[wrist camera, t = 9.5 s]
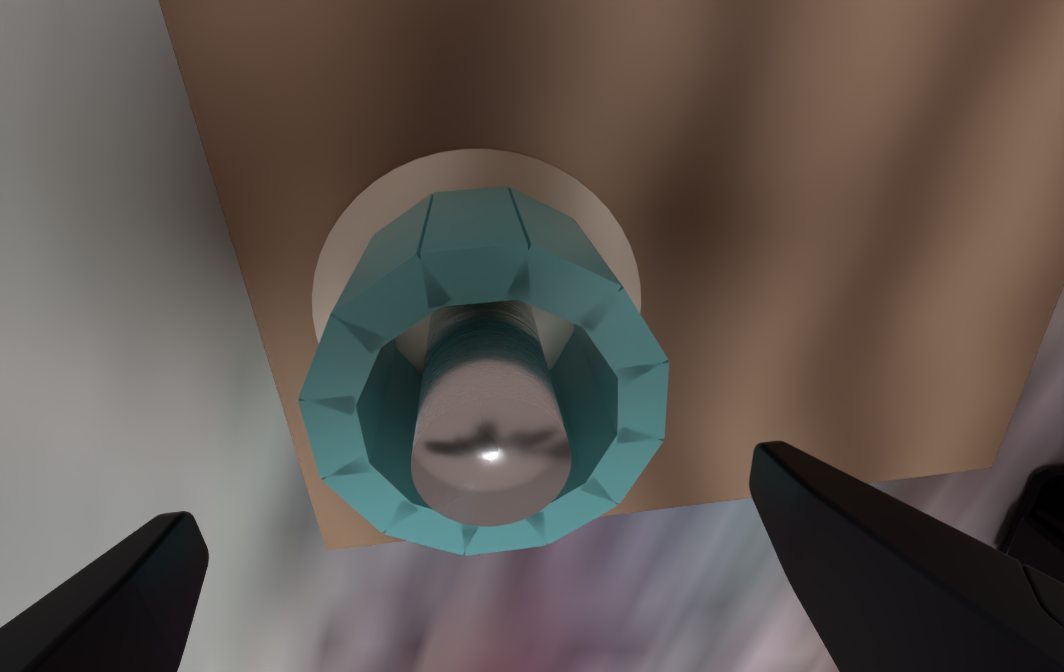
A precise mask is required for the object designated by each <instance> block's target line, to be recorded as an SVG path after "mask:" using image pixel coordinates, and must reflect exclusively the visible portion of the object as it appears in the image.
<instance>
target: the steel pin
mask: <svg viewBox="0 0 1064 672" xmlns="http://www.w3.org/2000/svg"><path fill="white" fill-rule="evenodd" d="M571 458H572V457H571V449H570V445H569V441H568V438H567V434H566V431H565V427H564V423H563V420H562V416H561V413H560V409H559V405H558V402H557V398H556V395H555V391H554V387H553V384H552V380H551V377H550V373H549V369H548V366H547V362H546V359H545V355H544V352H543V348H542V344H541V341H540V337H539V334H538V330H537V326H536V323H535V319H534V316H533V312H532V308H531V305H529V304H527V303H525V302H522V301H520V300H508V301H497V302H487V303H476V304H465V305H454V306H444V307H440V308H439V309H437V310H436V311H434V312H433V313H431V317H430V325H429V332H428V339H427V347H426V354H425V361H424V369H423V376H422V384H421V391H420V398H419V406H418V413H417V420H416V428H415V435H414V443H413V450H412V457H411V474H412V478H413V482H414V485H415V487H416V489H417V491H418V493H419V494H420V496H421V497H422V499H423V500H424V501H425V502H426V503H427V504H428V505H429V506H430V507H431V508H432V509H433V510H435V511H436V512H438V513H439V514H441V515H442V516H444V517H446V518H448V519H450V520H453V521H456V522H459V523H462V524H467V525H472V526H484V527H491V526H501V525H507V524H511V523H515V522H518V521H521V520H524V519H526V518H528V517H530V516H532V515H534V514H536V513H538V512H539V511H541V510H542V509H544V508H545V507H546V506H547V505H549V504H550V503H551V502H552V501H553V500H554V499H555V498H556V497H557V496H558V494H559V493H560V492H561V490H562V489H563V487H564V485H565V483H566V481H567V479H568V476H569V473H570V468H571Z"/></svg>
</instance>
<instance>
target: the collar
mask: <svg viewBox="0 0 1064 672" xmlns="http://www.w3.org/2000/svg"><path fill="white" fill-rule="evenodd" d="M508 300H520V301H522V302H525V303H527V304H529V305H532V306H534V307H536V308H539V309H541V310H543V311H546V312H548V313H551V314H553V315H555V316H558V317H560V318H562V319H565V320H567V321H569V322H572V323H574V331H573V333H572V335H571V337H570V338H569V340H568V342H567V344H566V345H565V347H564V349H563V351H562V352H561V354H560V356H559V358H558V359H557V361H556V363H555V365H554V366H553V368H552V369H550V370H549V373H550V377H551V380H552V384H553V387H554V391H555V395H556V398H557V402H558V405H559V409H560V413H561V416H562V420H563V423H564V427H565V431H566V434H567V438H568V441H569V445H570V449H571V457H572V458H571V468H570V473H569V476H568V479H567V481H566V483H565V485H564V487H563V489H562V490H561V492H560V493H559V494H558V496H557V497H556V498H555V499H554V500H553V501H552V502H551V503H550V504H549V505H547V506H546V507H545V508H544V509H542V510H541V511H539V512H538V513H536V514H534V515H532V516H530V517H528V518H526V519H524V520H521V521H518V522H515V523H511V524H507V525H501V526H491V527H484V526H472V525H467V524H462V523H459V522H456V521H453V520H450V519H448V518H446V517H444V516H442V515H441V514H439V513H438V512H436V511H435V510H433V509H432V508H431V507H430V506H429V505H428V504H427V503H426V502H425V501H424V500H423V499H422V497H421V496H420V494H419V493H418V491H417V489H416V487H415V485H414V482H413V478H412V474H411V457H412V450H413V443H414V435H415V428H416V420H417V413H418V406H419V398H420V391H421V384H422V375H421V374H420V373H419V372H418V371H417V370H416V369H415V368H414V367H413V366H412V364H411V363H410V362H409V361H408V360H407V359H406V358H405V357H404V356H403V354H402V353H401V352H400V351H399V350H398V349H397V347H396V341H395V338H396V337H397V336H399V335H400V334H402V333H403V332H405V331H406V330H408V329H409V328H411V327H412V326H414V325H415V324H417V323H418V322H420V321H421V320H423V319H424V318H426V317H427V316H428V315H430V314H431V313H433V312H434V311H436V310H437V309H439V308H440V307H444V306H454V305H465V304H476V303H487V302H497V301H508ZM668 374H669V362H668V358H667V356H666V355H665V353H664V351H663V350H662V348H661V347H660V345H659V343H658V342H657V340H656V339H655V337H654V335H653V334H652V332H651V331H650V329H649V327H648V326H647V324H646V323H645V321H644V319H643V318H642V316H641V314H640V313H639V311H638V310H637V308H636V306H635V305H634V303H633V302H632V300H631V298H630V297H629V295H628V294H627V292H626V290H625V289H624V287H623V286H622V285H621V283H620V282H619V280H618V279H617V278H616V276H615V275H614V273H613V272H612V271H611V269H610V268H609V267H608V265H607V264H606V262H605V261H604V260H603V258H602V257H601V255H600V254H599V253H598V251H597V250H596V249H595V247H594V246H593V244H592V243H591V242H590V240H589V239H588V238H587V236H586V235H585V233H584V232H583V231H582V229H581V228H580V226H579V225H578V224H577V222H576V221H575V220H574V219H573V218H572V217H570V216H568V215H566V214H564V213H562V212H560V211H558V210H556V209H554V208H552V207H550V206H548V205H546V204H544V203H542V202H540V201H538V200H535V199H533V198H531V197H529V196H527V195H525V194H523V193H521V192H519V191H517V190H515V189H513V188H511V187H510V188H509V190H508V188H507V186H506V187H493V188H481V189H468V190H455V191H442V192H434V195H433V194H432V193H431V194H430V195H428V196H427V197H426V198H424V199H423V200H421V201H420V202H419V203H417V204H416V205H414V206H413V207H412V208H410V209H409V210H407V211H406V212H405V213H403V214H402V215H400V216H399V217H398V218H396V219H395V220H393V221H392V222H391V223H389V224H388V225H386V226H385V227H384V228H382V229H381V230H379V231H378V232H377V233H375V234H374V236H373V237H372V238H371V240H370V242H369V244H368V246H367V248H366V250H365V251H364V253H363V255H362V257H361V259H360V261H359V262H358V264H357V266H356V268H355V270H354V272H353V273H352V275H351V277H350V279H349V281H348V283H347V285H346V286H345V288H344V290H343V292H342V294H341V296H340V297H339V299H338V301H337V303H336V305H335V307H334V309H333V310H332V312H331V314H330V316H329V319H328V321H327V324H326V326H325V329H324V332H323V334H322V337H321V339H320V342H319V345H318V347H317V350H316V352H315V355H314V358H313V360H312V363H311V365H310V368H309V371H308V373H307V376H306V378H305V381H304V384H303V386H302V389H301V391H300V394H299V397H298V398H299V400H298V403H299V407H300V410H301V414H302V417H303V421H304V424H305V428H306V431H307V435H308V438H309V442H310V445H311V449H312V452H313V455H314V459H315V462H316V466H317V469H318V473H319V476H320V478H322V481H323V482H324V483H325V484H326V485H327V486H329V487H330V488H331V489H332V490H333V491H334V492H335V493H336V494H338V495H339V496H340V497H341V498H342V499H343V500H344V501H346V502H347V503H348V504H349V505H350V506H351V507H352V508H354V509H355V510H356V511H357V512H358V513H359V514H360V515H362V516H363V517H364V518H365V519H366V520H367V521H368V522H370V523H371V524H372V525H373V526H374V527H375V528H376V529H378V530H379V531H380V532H381V533H382V532H384V531H385V533H384V534H385V535H389V536H392V537H396V538H400V539H403V540H407V541H411V542H414V543H418V544H422V545H425V546H429V547H433V548H437V549H440V550H444V551H448V552H451V553H455V554H459V555H463V554H464V552H465V555H466V556H467V555H475V554H483V553H491V552H499V551H507V550H514V549H522V548H530V547H538V546H546V542H547V543H548V544H551V543H552V542H554V541H556V540H558V539H560V538H561V537H563V536H565V535H567V534H568V533H570V532H572V531H574V530H575V529H577V528H579V527H581V526H583V525H584V524H586V523H588V522H590V521H591V520H593V519H595V518H597V517H598V516H600V515H602V514H604V513H606V512H607V511H609V510H611V509H613V508H614V507H616V506H617V503H621V501H622V500H623V498H624V497H625V496H626V494H627V493H628V491H629V490H630V488H631V487H632V486H633V484H634V483H635V481H636V480H637V478H638V477H639V476H640V474H641V473H642V471H643V470H644V468H645V467H646V466H647V464H648V463H649V461H650V460H651V458H652V457H653V456H654V454H655V453H656V451H657V450H658V448H659V447H660V446H661V444H662V443H663V440H662V439H664V438H665V423H666V407H667V391H668Z"/></svg>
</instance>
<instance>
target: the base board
mask: <svg viewBox="0 0 1064 672" xmlns="http://www.w3.org/2000/svg"><path fill="white" fill-rule="evenodd" d="M159 3H160V6H161V9H162V13H163V16H164V19H165V22H166V26H167V29H168V32H169V36H170V39H171V42H172V45H173V49H174V52H175V55H176V59H177V62H178V65H179V68H180V72H181V75H182V78H183V82H184V85H185V88H186V91H187V95H188V98H189V101H190V105H191V108H192V111H193V114H194V118H195V121H196V124H197V128H198V131H199V134H200V137H201V141H202V144H203V147H204V151H205V154H206V157H207V160H208V164H209V167H210V170H211V174H212V177H213V180H214V183H215V187H216V190H217V193H218V196H219V200H220V203H221V206H222V210H223V213H224V216H225V219H226V223H227V226H228V229H229V233H230V236H231V239H232V242H233V246H234V249H235V252H236V256H237V259H238V262H239V265H240V269H241V272H242V275H243V279H244V282H245V285H246V288H247V292H248V295H249V298H250V302H251V305H252V308H253V311H254V315H255V318H256V321H257V325H258V328H259V331H260V334H261V338H262V341H263V344H264V348H265V351H266V354H267V357H268V361H269V364H270V367H271V371H272V374H273V377H274V380H275V384H276V387H277V390H278V394H279V397H280V400H281V403H282V407H283V410H284V413H285V417H286V420H287V423H288V426H289V430H290V433H291V436H292V440H293V443H294V446H295V449H296V453H297V456H298V459H299V463H300V466H301V469H302V472H303V476H304V479H305V482H306V486H307V489H308V492H309V495H310V499H311V502H312V505H313V508H314V512H315V515H316V518H317V522H318V525H319V528H320V531H321V535H322V538H323V541H324V545H325V548H326V551H327V550H335V549H343V548H351V547H359V546H367V545H376V544H384V543H392V542H400V541H407V540H403V539H400V538H396V537H392V536H389V535H385V534H384V533H385V531H384V532H382V533H381V532H380V531H379V530H378V529H376V528H375V527H374V526H373V525H372V524H371V523H370V522H368V521H367V520H366V519H365V518H364V517H363V516H362V515H360V514H359V513H358V512H357V511H356V510H355V509H354V508H352V507H351V506H350V505H349V504H348V503H347V502H346V501H344V500H343V499H342V498H341V497H340V496H339V495H338V494H336V493H335V492H334V491H333V490H332V489H331V488H330V487H329V486H327V485H326V484H325V483H324V482H323V481H322V478H320V476H319V473H318V469H317V466H316V462H315V459H314V455H313V452H312V449H311V445H310V442H309V438H308V435H307V431H306V428H305V424H304V421H303V417H302V414H301V410H300V407H299V403H298V400H299V398H298V397H299V394H300V391H301V389H302V386H303V384H304V381H305V378H306V376H307V373H308V371H309V368H310V365H311V363H312V360H313V358H314V355H315V352H316V350H317V347H318V345H319V342H320V339H321V337H322V334H323V332H324V329H325V326H326V324H327V321H328V319H329V316H330V314H331V312H332V310H333V309H334V307H335V305H336V303H337V301H338V299H339V297H340V296H341V294H342V292H343V290H344V288H345V286H346V285H347V283H348V281H349V279H350V277H351V275H352V273H353V272H354V270H355V268H356V266H357V264H358V262H359V261H360V259H361V257H362V255H363V253H364V251H365V250H366V248H367V246H368V244H369V242H370V240H371V238H372V237H373V236H374V234H375V233H377V232H378V231H379V230H381V229H382V228H384V227H385V226H386V225H388V224H389V223H391V222H392V221H393V220H395V219H396V218H398V217H399V216H400V215H402V214H403V213H405V212H406V211H407V210H409V209H410V208H412V207H413V206H414V205H416V204H417V203H419V202H420V201H421V200H423V199H424V198H426V197H427V196H428V195H430V194H431V193H432V194H433V195H434V192H442V191H455V190H468V189H481V188H493V187H506V186H507V188H508V190H509V188H510V187H511V188H513V189H515V190H517V191H519V192H521V193H523V194H525V195H527V196H529V197H531V198H533V199H535V200H538V201H540V202H542V203H544V204H546V205H548V206H550V207H552V208H554V209H556V210H558V211H560V212H562V213H564V214H566V215H568V216H570V217H572V218H573V219H574V220H575V221H576V222H577V224H578V225H579V226H580V228H581V229H582V231H583V232H584V233H585V235H586V236H587V238H588V239H589V240H590V242H591V243H592V244H593V246H594V247H595V249H596V250H597V251H598V253H599V254H600V255H601V257H602V258H603V260H604V261H605V262H606V264H607V265H608V267H609V268H610V269H611V271H612V272H613V273H614V275H615V276H616V278H617V279H618V280H619V282H620V283H621V285H622V286H623V287H624V289H625V290H626V292H627V294H628V295H629V297H630V298H631V300H632V302H633V303H634V305H635V306H636V308H637V310H638V311H639V313H640V314H641V316H642V318H643V319H644V321H645V323H646V324H647V326H648V327H649V329H650V331H651V332H652V334H653V335H654V337H655V339H656V340H657V342H658V343H659V345H660V347H661V348H662V350H663V351H664V353H665V355H666V356H667V358H668V362H669V374H668V391H667V407H666V423H665V438H664V439H662V440H663V443H662V444H661V446H660V447H659V448H658V450H657V451H656V453H655V454H654V456H653V457H652V458H651V460H650V461H649V463H648V464H647V466H646V467H645V468H644V470H643V471H642V473H641V474H640V476H639V477H638V478H637V480H636V481H635V483H634V484H633V486H632V487H631V488H630V490H629V491H628V493H627V494H626V496H625V497H624V498H623V500H622V501H621V503H617V506H616V507H614V508H613V509H611V510H609V511H607V512H606V513H604V514H602V515H600V516H608V515H616V514H625V513H633V512H641V511H649V510H657V509H665V508H673V507H681V506H689V505H697V504H705V503H713V502H721V501H729V500H737V499H745V498H752V496H751V493H750V489H749V477H750V471H751V464H752V457H753V451H754V448H755V446H756V445H757V444H758V443H760V442H768V441H777V440H780V441H784V442H786V443H788V444H790V445H792V446H794V447H796V448H798V449H800V450H802V451H804V452H806V453H808V454H810V455H812V456H814V457H816V458H818V459H819V460H821V461H823V462H825V463H827V464H829V465H831V466H833V467H835V468H837V469H839V470H841V471H843V472H845V473H847V474H849V475H851V476H853V477H855V478H857V479H859V480H861V481H863V482H865V483H874V482H882V481H890V480H898V479H906V478H914V477H922V476H930V475H938V474H946V473H954V472H962V471H970V470H978V469H986V468H992V466H993V464H994V461H995V458H996V456H997V453H998V451H999V448H1000V446H1001V443H1002V441H1003V438H1004V436H1005V433H1006V431H1007V428H1008V425H1009V423H1010V420H1011V418H1012V415H1013V413H1014V410H1015V408H1016V405H1017V403H1018V400H1019V398H1020V395H1021V393H1022V390H1023V387H1024V385H1025V382H1026V380H1027V377H1028V375H1029V372H1030V370H1031V367H1032V365H1033V362H1034V360H1035V357H1036V354H1037V352H1038V349H1039V347H1040V344H1041V342H1042V339H1043V337H1044V334H1045V332H1046V329H1047V327H1048V324H1049V321H1050V319H1051V316H1052V314H1053V311H1054V309H1055V306H1056V304H1057V301H1058V299H1059V296H1060V294H1061V291H1062V288H1063V286H1064V0H159ZM531 308H532V312H533V316H534V319H535V323H536V326H537V330H538V334H539V337H540V341H541V344H542V348H543V352H544V355H545V359H546V362H547V366H548V369H549V370H550V369H552V368H553V366H554V365H555V363H556V361H557V359H558V358H559V356H560V354H561V352H562V351H563V349H564V347H565V345H566V344H567V342H568V340H569V338H570V337H571V335H572V333H573V331H574V323H572V322H569V321H567V320H565V319H562V318H560V317H558V316H555V315H553V314H551V313H548V312H546V311H543V310H541V309H539V308H536V307H534V306H532V305H531ZM430 317H431V314H430V315H428V316H427V317H426V318H424V319H423V320H421V321H420V322H418V323H417V324H415V325H414V326H412V327H411V328H409V329H408V330H406V331H405V332H403V333H402V334H400V335H399V336H397V337H396V338H395V341H396V347H397V349H398V350H399V351H400V352H401V353H402V354H403V356H404V357H405V358H406V359H407V360H408V361H409V362H410V363H411V364H412V366H413V367H414V368H415V369H416V370H417V371H418V372H419V373H420V374H421V375H422V376H423V369H424V361H425V354H426V347H427V339H428V332H429V325H430ZM600 516H598V517H600Z"/></svg>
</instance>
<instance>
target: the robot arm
mask: <svg viewBox="0 0 1064 672" xmlns="http://www.w3.org/2000/svg"><path fill="white" fill-rule="evenodd" d="M749 489H750V493H751V496H752V499H753V501H754V503H755V506H756V508H757V510H758V513H759V515H760V517H761V519H762V522H763V524H764V526H765V529H766V531H767V533H768V536H769V538H770V540H771V542H772V545H773V547H774V549H775V552H776V554H777V556H778V559H779V561H780V563H781V565H782V568H783V570H784V572H785V574H786V576H787V578H788V580H789V582H790V584H791V586H792V588H793V590H794V592H795V593H796V595H797V597H798V599H799V601H800V602H801V604H802V606H803V608H804V609H805V611H806V613H807V615H808V617H809V618H810V620H811V622H812V624H813V625H814V627H815V629H816V631H817V632H818V634H819V636H820V638H821V640H822V641H823V643H824V645H825V647H826V648H827V650H828V652H829V654H830V655H831V657H832V659H833V661H834V663H835V664H836V666H837V668H838V670H839V671H840V672H1064V467H1060V468H1052V469H1046V470H1043V471H1041V472H1040V473H1038V474H1037V475H1036V476H1035V477H1034V479H1033V480H1032V483H1031V485H1030V487H1029V490H1028V492H1027V494H1026V496H1025V499H1024V501H1023V503H1022V505H1021V508H1020V510H1019V512H1018V514H1017V517H1016V519H1015V521H1014V524H1013V526H1012V528H1011V530H1010V533H1009V535H1008V537H1007V539H1006V542H1005V544H1004V546H1003V548H1002V551H1001V552H1000V551H998V550H996V549H994V548H993V547H991V546H989V545H987V544H985V543H983V542H981V541H979V540H977V539H975V538H973V537H971V536H969V535H967V534H965V533H963V532H961V531H959V530H957V529H955V528H953V527H951V526H949V525H947V524H945V523H943V522H941V521H939V520H937V519H935V518H934V517H932V516H930V515H928V514H926V513H924V512H922V511H920V510H918V509H916V508H914V507H912V506H910V505H908V504H906V503H904V502H902V501H900V500H898V499H896V498H894V497H892V496H890V495H888V494H886V493H884V492H882V491H880V490H878V489H876V488H875V487H873V486H871V485H869V484H867V483H865V482H863V481H861V480H859V479H857V478H855V477H853V476H851V475H849V474H847V473H845V472H843V471H841V470H839V469H837V468H835V467H833V466H831V465H829V464H827V463H825V462H823V461H821V460H819V459H818V458H816V457H814V456H812V455H810V454H808V453H806V452H804V451H802V450H800V449H798V448H796V447H794V446H792V445H790V444H788V443H786V442H784V441H780V440H777V441H768V442H760V443H758V444H757V445H756V446H755V448H754V451H753V457H752V464H751V471H750V477H749ZM208 561H209V553H208V549H207V546H206V543H205V541H204V539H203V537H202V534H201V532H200V530H199V527H198V525H197V523H196V521H195V518H194V517H193V515H192V514H191V513H189V512H186V511H180V512H172V513H164V514H160V515H158V516H156V517H154V518H153V519H152V520H150V521H149V522H147V523H146V524H145V525H143V526H142V527H140V528H139V529H138V530H136V531H135V532H133V533H132V534H131V535H129V536H128V537H127V538H125V539H124V540H122V541H121V542H120V543H118V544H117V545H115V546H114V547H113V548H111V549H110V550H108V551H107V552H106V553H104V554H103V555H101V556H100V557H99V558H97V559H96V560H94V561H93V562H92V563H90V564H89V565H87V566H86V567H85V568H83V569H82V570H80V571H79V572H78V573H76V574H75V575H73V576H72V577H71V578H69V579H68V580H66V581H65V582H64V583H62V584H61V585H60V586H58V587H57V588H55V589H54V590H53V591H51V592H50V593H48V594H47V595H46V596H44V597H43V598H41V599H40V600H39V601H37V602H36V603H34V604H33V605H32V606H30V607H29V608H27V609H26V610H25V611H23V612H22V613H20V614H19V615H18V616H16V617H15V618H13V619H12V620H11V621H9V622H8V623H6V624H5V625H4V626H2V627H1V628H0V672H177V670H178V668H179V665H180V662H181V659H182V655H183V652H184V649H185V646H186V642H187V638H188V635H189V631H190V628H191V624H192V621H193V617H194V613H195V610H196V606H197V603H198V599H199V595H200V592H201V588H202V585H203V581H204V578H205V574H206V570H207V567H208Z"/></svg>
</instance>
